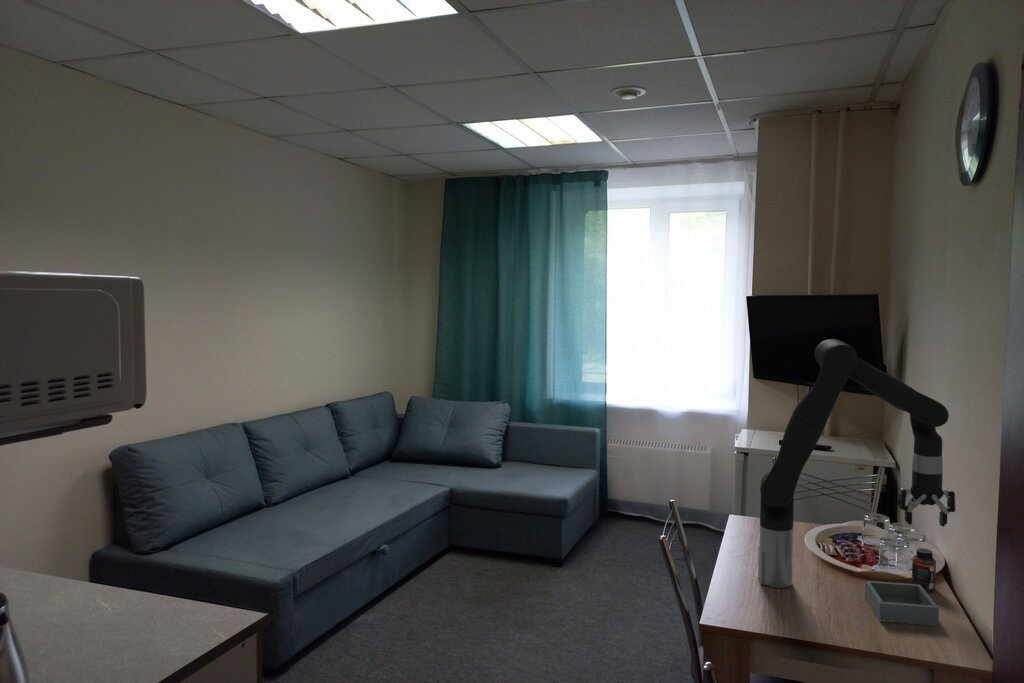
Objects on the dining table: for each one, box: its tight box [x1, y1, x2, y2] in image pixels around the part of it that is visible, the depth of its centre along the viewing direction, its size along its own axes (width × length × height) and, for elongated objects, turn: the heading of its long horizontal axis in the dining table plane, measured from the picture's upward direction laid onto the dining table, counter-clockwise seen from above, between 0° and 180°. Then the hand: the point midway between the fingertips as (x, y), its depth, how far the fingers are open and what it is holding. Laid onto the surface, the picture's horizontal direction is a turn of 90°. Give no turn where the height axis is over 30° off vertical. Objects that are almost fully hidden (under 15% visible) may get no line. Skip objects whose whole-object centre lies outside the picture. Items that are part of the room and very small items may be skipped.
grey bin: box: [864, 580, 940, 627], centre depth 191 cm, size 14×14×5 cm
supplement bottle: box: [911, 547, 937, 593], centre depth 204 cm, size 6×6×11 cm
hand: (925, 524), depth 203 cm, fingers open, 8 cm apart
